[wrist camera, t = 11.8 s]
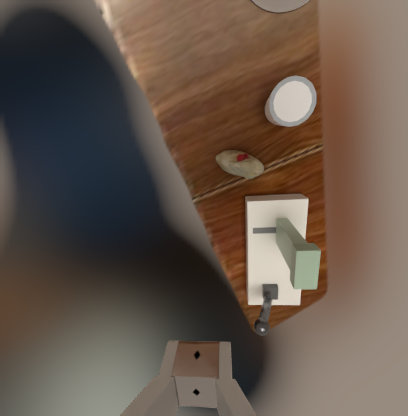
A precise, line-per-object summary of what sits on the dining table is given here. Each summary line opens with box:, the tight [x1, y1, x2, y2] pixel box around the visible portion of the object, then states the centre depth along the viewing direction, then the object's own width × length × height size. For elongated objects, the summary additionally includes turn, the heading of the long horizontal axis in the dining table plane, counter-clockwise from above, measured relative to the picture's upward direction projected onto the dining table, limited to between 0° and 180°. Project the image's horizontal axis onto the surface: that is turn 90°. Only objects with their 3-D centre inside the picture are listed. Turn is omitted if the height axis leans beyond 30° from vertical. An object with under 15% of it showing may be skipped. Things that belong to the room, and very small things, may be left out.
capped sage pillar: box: [276, 218, 321, 289], centre depth 34 cm, size 6×3×13 cm, turn 4°
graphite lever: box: [254, 294, 272, 335], centre depth 40 cm, size 3×3×9 cm
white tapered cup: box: [265, 76, 316, 127], centre depth 35 cm, size 7×7×7 cm
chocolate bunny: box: [216, 150, 264, 179], centre depth 37 cm, size 6×8×10 cm
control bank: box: [245, 193, 308, 305], centre depth 44 cm, size 24×11×5 cm, turn 4°
